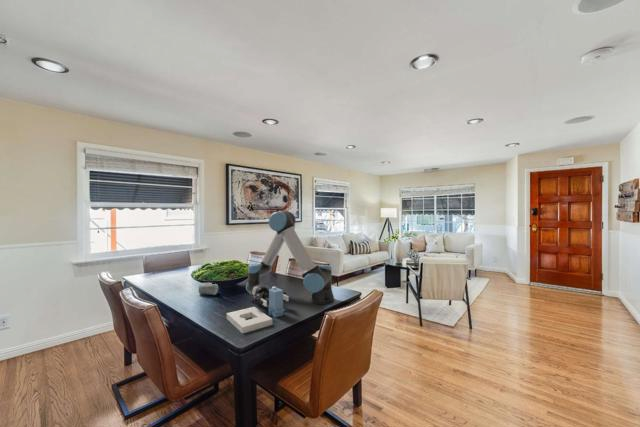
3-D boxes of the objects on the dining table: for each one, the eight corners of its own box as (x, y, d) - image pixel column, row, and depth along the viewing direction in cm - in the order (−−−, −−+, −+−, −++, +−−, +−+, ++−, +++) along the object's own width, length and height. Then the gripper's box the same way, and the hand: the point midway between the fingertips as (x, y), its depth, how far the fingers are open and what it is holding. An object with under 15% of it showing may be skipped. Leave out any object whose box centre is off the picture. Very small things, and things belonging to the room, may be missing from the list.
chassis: (272, 324, 138) (272, 318, 138) (242, 333, 128) (242, 327, 128) (254, 311, 156) (254, 306, 155) (226, 318, 146) (226, 313, 146)
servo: (284, 316, 149) (284, 289, 149) (275, 319, 145) (275, 291, 145) (275, 310, 158) (275, 284, 157) (265, 312, 154) (265, 286, 154)
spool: (193, 291, 183) (200, 277, 187) (201, 293, 192) (208, 280, 195) (208, 298, 179) (215, 284, 182) (216, 300, 187) (223, 286, 191)
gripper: (278, 294, 174) (296, 303, 158) (241, 302, 159) (256, 313, 142) (278, 282, 174) (296, 290, 158) (241, 289, 159) (256, 299, 142)
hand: (277, 301), depth 150 cm, fingers open, 13 cm apart
